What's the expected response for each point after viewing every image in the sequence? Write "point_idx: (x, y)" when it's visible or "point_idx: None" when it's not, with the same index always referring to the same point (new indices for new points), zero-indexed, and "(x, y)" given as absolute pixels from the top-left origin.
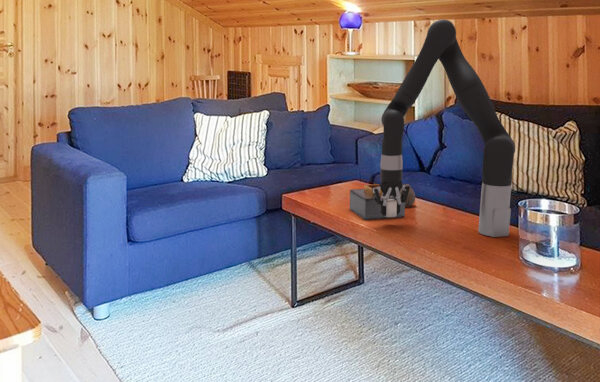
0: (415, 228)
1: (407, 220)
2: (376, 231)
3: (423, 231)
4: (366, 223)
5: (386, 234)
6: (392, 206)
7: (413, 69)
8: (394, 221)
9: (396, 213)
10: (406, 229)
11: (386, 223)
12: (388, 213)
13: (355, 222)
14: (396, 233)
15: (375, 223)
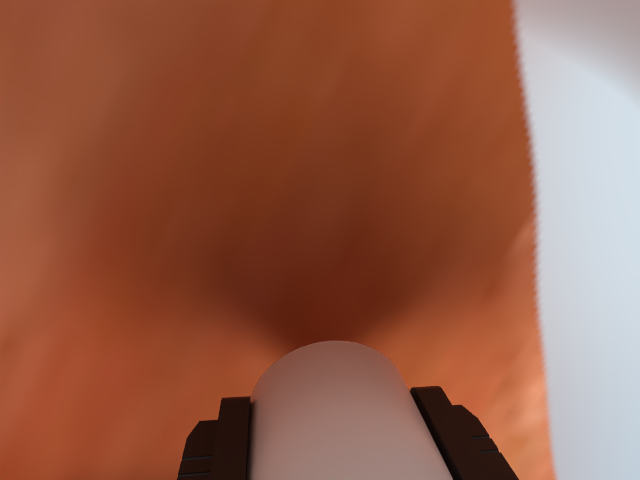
0: (84, 178)
1: (69, 445)
2: (536, 197)
3: (24, 30)
4: None
5: (505, 67)
6: (382, 469)
7: None
8: None
9: (265, 397)
10: (207, 172)
11: None
12: (402, 389)
13: (544, 467)
14: (386, 65)
15: None
